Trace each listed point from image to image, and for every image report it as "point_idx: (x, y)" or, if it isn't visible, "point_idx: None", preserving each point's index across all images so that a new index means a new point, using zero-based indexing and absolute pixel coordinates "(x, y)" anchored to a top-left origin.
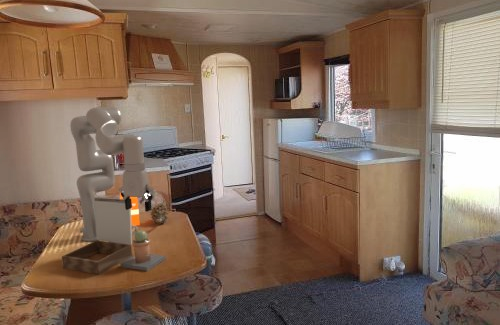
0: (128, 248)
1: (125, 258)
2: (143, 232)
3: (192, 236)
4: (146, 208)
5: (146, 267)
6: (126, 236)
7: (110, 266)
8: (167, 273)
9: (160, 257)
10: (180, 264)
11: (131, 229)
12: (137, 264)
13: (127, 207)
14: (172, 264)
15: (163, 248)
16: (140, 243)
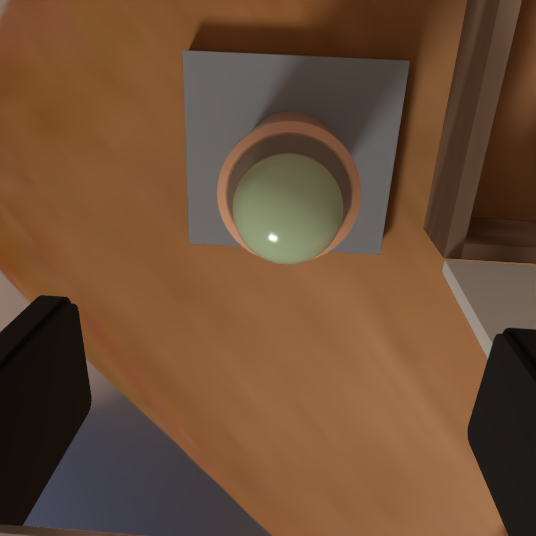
0: (445, 225)
1: (437, 171)
2: (247, 218)
3: (244, 507)
4: (13, 327)
5: (187, 50)
6: (504, 291)
7: (468, 14)
8: (47, 56)
9: (202, 216)
10: (66, 194)
11: (476, 334)
12: (276, 75)
13: (509, 362)
14: (109, 183)
15: (300, 361)
16: (250, 133)
